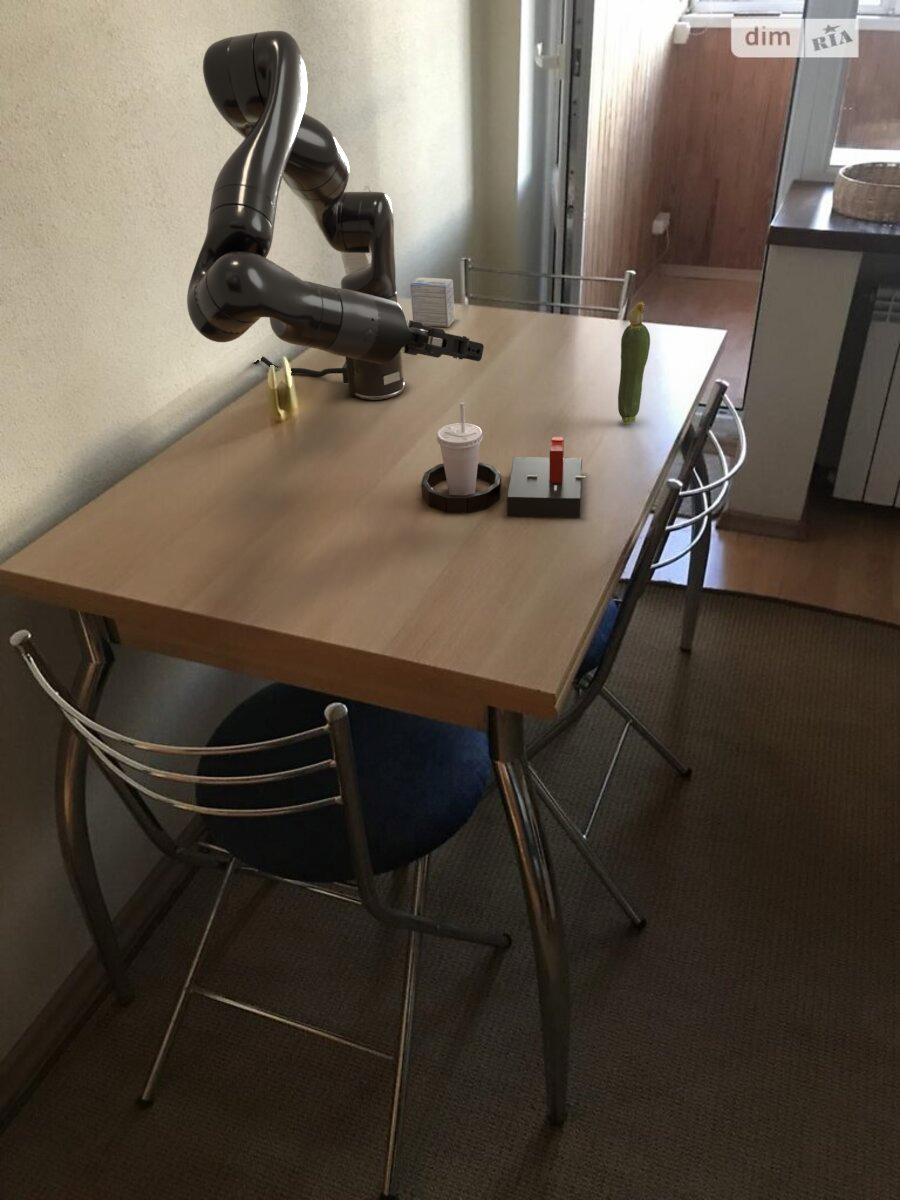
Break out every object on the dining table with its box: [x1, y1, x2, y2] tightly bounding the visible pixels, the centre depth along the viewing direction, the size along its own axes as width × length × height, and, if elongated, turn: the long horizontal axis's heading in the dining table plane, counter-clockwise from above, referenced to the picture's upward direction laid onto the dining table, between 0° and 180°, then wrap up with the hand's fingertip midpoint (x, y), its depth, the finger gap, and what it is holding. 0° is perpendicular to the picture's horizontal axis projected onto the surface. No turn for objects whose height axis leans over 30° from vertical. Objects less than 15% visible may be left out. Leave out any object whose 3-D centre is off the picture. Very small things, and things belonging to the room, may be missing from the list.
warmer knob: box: [549, 436, 565, 483], centre depth 132 cm, size 4×2×5 cm, turn 172°
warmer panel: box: [506, 456, 587, 518], centre depth 135 cm, size 11×12×3 cm
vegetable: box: [617, 300, 651, 426], centre depth 149 cm, size 4×4×20 cm
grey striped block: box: [409, 277, 456, 328], centre depth 195 cm, size 8×4×9 cm, turn 71°
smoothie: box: [436, 401, 483, 495], centre depth 133 cm, size 6×6×14 cm
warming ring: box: [420, 461, 503, 514], centre depth 137 cm, size 11×11×2 cm
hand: (458, 348), depth 123 cm, fingers open, 8 cm apart
